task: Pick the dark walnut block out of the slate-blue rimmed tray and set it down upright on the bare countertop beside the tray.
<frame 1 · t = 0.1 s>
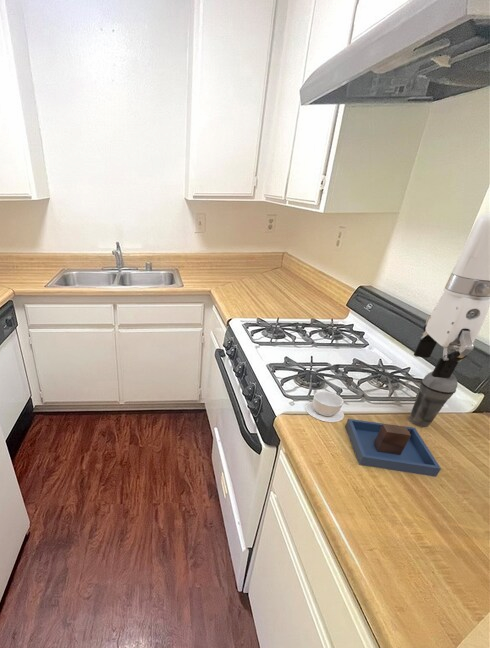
hand: (430, 366, 75), 20 cm above the countertop, tool pointing down, fingers open, 9 cm apart
block: (386, 449, 82), resting on tray
beverage cup: (417, 423, 92), on the countertop
teacup: (323, 413, 95), on the countertop
tray: (386, 450, 82), on the countertop
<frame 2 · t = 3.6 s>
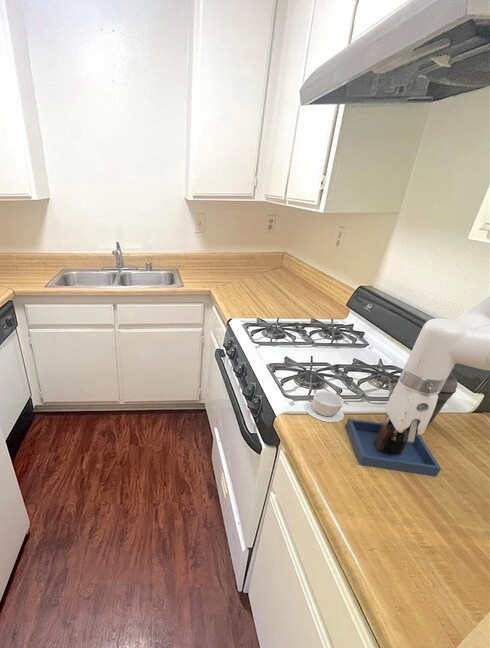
hand: (387, 446, 81), 1 cm above the countertop, tool pointing down, fingers closed on block, 3 cm apart
block: (386, 449, 82), resting on tray, touching gripper
everything else where it was.
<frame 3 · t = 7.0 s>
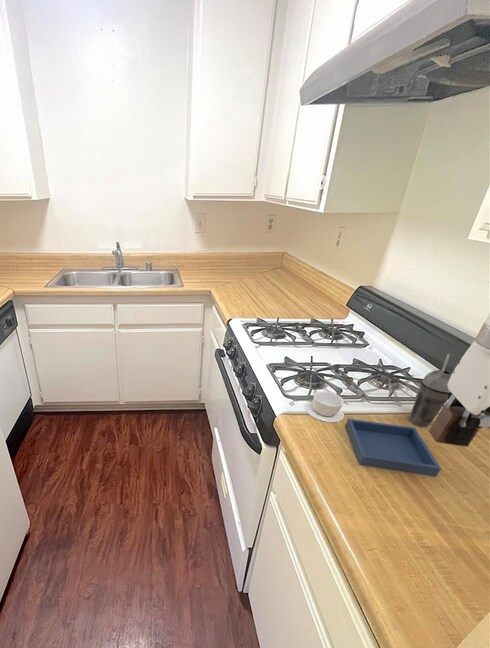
hand: (450, 435, 62), 16 cm above the countertop, tool pointing down, fingers closed on block, 3 cm apart
block: (447, 438, 62), point 15 cm above the countertop, touching gripper
everything else where it was.
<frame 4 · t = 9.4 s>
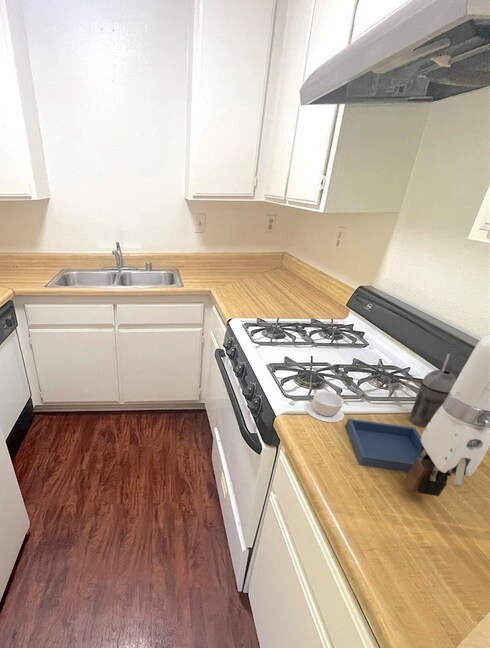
hand: (423, 485, 67), 4 cm above the countertop, tool pointing down, fingers closed on block, 3 cm apart
block: (421, 487, 68), point 3 cm above the countertop, touching gripper
everything else where it was.
when the fingers open (1 cm above the countertop, at t = 10.6 s): block stays where it is, on the countertop.
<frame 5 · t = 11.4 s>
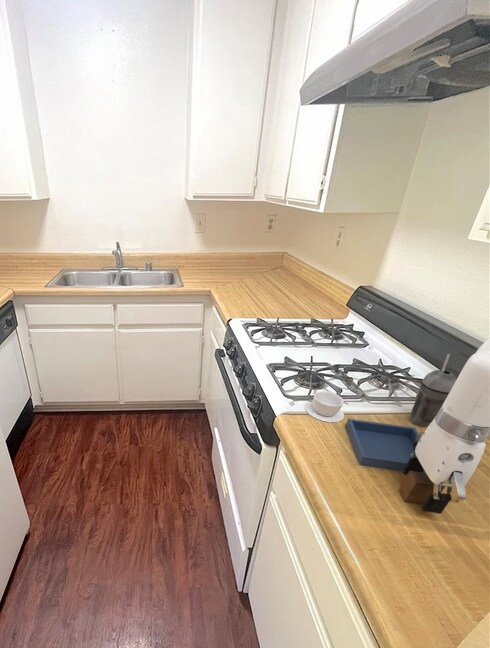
hand: (420, 491, 68), 2 cm above the countertop, tool pointing down, fingers open, 9 cm apart
block: (413, 499, 70), on the countertop
everything else where it was.
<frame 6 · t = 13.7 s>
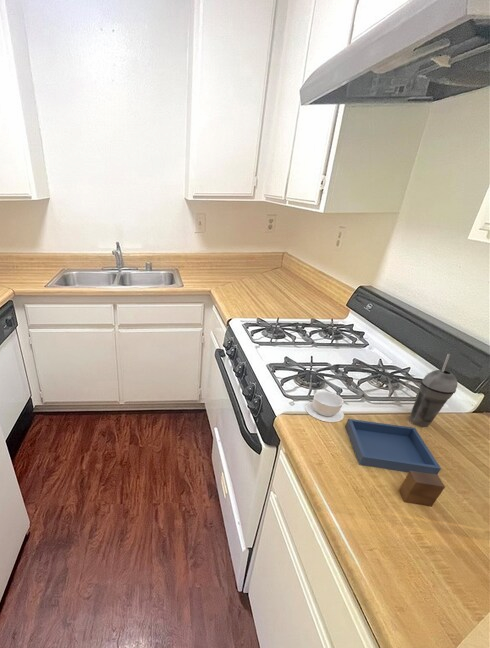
nothing on the countertop moved.
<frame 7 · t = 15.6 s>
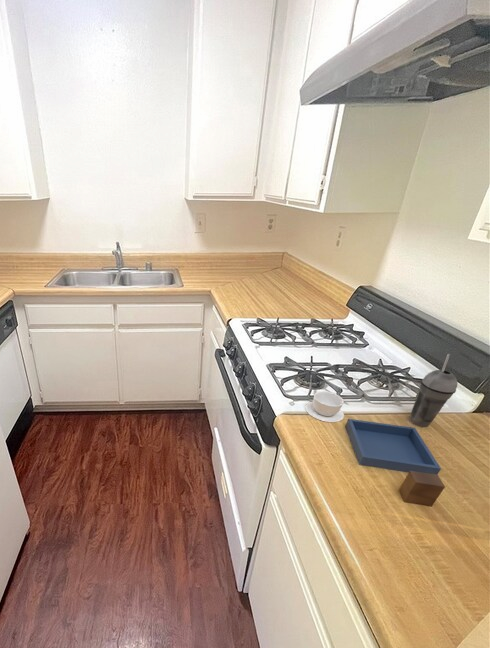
nothing on the countertop moved.
at the end: block inside the target area (0.2 cm from its centre), on the countertop; block tilted 0°; block touching countertop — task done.
